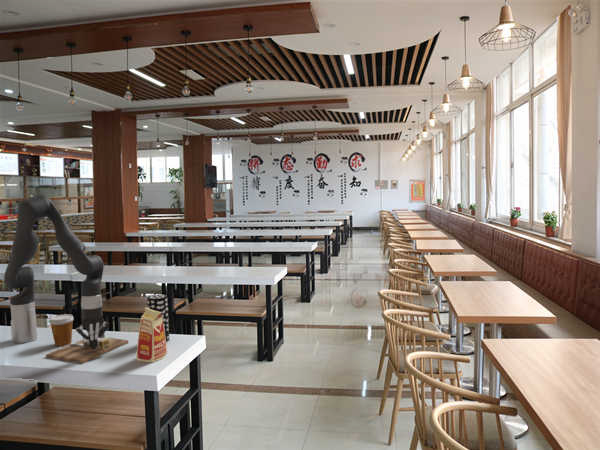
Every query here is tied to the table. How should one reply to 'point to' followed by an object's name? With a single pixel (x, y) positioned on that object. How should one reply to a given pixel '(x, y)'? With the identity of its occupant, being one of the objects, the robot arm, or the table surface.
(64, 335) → the disposable coffee cup
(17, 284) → the robot arm
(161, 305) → the spotted tube
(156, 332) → the milk carton
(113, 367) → the table surface
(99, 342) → the swing bar
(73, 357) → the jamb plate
